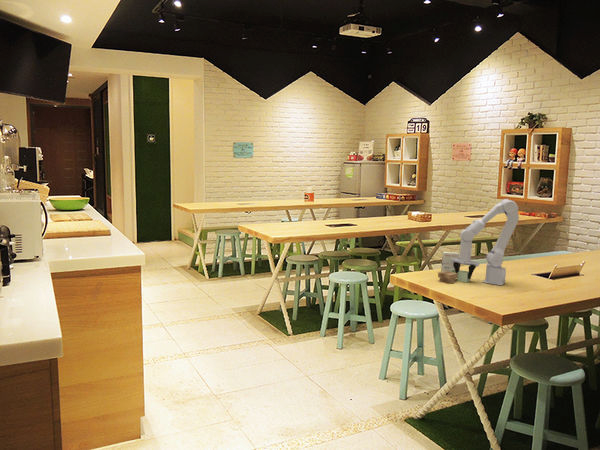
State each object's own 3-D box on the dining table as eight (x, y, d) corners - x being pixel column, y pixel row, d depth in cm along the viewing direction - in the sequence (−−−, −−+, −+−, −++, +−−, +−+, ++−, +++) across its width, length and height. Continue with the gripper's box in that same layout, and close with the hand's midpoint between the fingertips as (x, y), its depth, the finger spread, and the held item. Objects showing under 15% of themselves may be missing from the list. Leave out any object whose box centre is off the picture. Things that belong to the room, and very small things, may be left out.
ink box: (442, 273, 283) (443, 253, 281) (440, 271, 288) (442, 251, 286) (458, 274, 282) (459, 253, 280) (456, 272, 287) (457, 252, 286)
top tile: (457, 278, 266) (457, 273, 265) (449, 280, 261) (450, 275, 261) (445, 275, 271) (445, 270, 271) (437, 277, 266) (438, 272, 266)
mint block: (469, 281, 269) (470, 271, 268) (466, 282, 265) (467, 273, 264) (460, 279, 272) (460, 270, 271) (457, 281, 268) (457, 271, 267)
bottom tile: (455, 281, 268) (455, 277, 268) (453, 284, 262) (453, 280, 261) (442, 280, 271) (442, 275, 271) (439, 282, 265) (439, 278, 264)
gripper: (449, 251, 267) (447, 276, 269) (477, 255, 259) (474, 281, 261) (454, 249, 273) (452, 274, 275) (481, 253, 264) (479, 279, 266)
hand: (463, 277), depth 268 cm, fingers open, 6 cm apart
